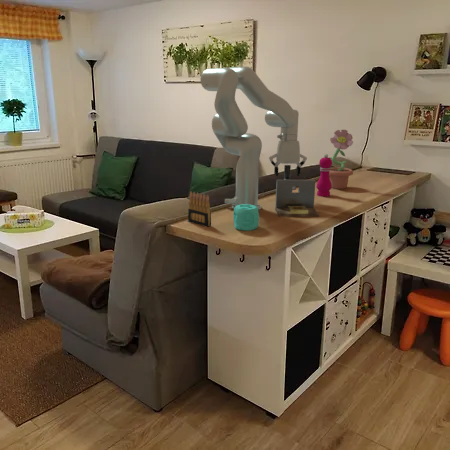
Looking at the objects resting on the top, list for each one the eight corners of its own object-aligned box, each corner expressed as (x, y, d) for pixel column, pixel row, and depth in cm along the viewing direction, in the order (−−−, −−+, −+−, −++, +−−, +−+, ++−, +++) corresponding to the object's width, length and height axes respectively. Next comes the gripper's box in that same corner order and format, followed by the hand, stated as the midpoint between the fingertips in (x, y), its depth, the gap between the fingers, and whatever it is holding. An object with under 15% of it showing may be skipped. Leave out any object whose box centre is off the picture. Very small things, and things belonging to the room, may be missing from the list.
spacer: (287, 209, 189) (290, 213, 182) (287, 205, 189) (291, 210, 182) (304, 209, 190) (308, 213, 183) (304, 205, 189) (308, 210, 182)
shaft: (290, 189, 194) (291, 171, 192) (283, 182, 211) (284, 164, 209) (296, 189, 194) (297, 171, 192) (289, 182, 211) (290, 164, 209)
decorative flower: (322, 189, 235) (326, 130, 226) (323, 184, 247) (327, 128, 239) (352, 191, 231) (357, 131, 223) (351, 185, 244) (356, 129, 236)
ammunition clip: (211, 226, 169) (211, 194, 166) (207, 227, 168) (207, 195, 165) (191, 220, 176) (191, 190, 173) (188, 221, 175) (187, 191, 172)
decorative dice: (254, 224, 172) (254, 203, 170) (258, 230, 164) (259, 209, 162) (233, 225, 171) (233, 204, 169) (237, 231, 163) (237, 209, 161)
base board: (279, 216, 183) (279, 213, 182) (275, 209, 193) (275, 207, 193) (318, 216, 184) (318, 213, 183) (312, 209, 194) (312, 206, 194)
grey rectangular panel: (276, 208, 191) (277, 180, 188) (275, 207, 193) (276, 179, 190) (313, 208, 192) (315, 180, 189) (312, 206, 194) (314, 179, 190)
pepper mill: (320, 197, 217) (322, 155, 212) (313, 194, 224) (315, 153, 218) (333, 196, 219) (336, 154, 213) (326, 193, 226) (329, 152, 220)
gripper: (270, 138, 200) (269, 177, 205) (309, 138, 201) (307, 177, 206) (268, 136, 207) (267, 174, 212) (306, 137, 208) (303, 174, 213)
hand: (287, 175), depth 209 cm, fingers open, 9 cm apart
